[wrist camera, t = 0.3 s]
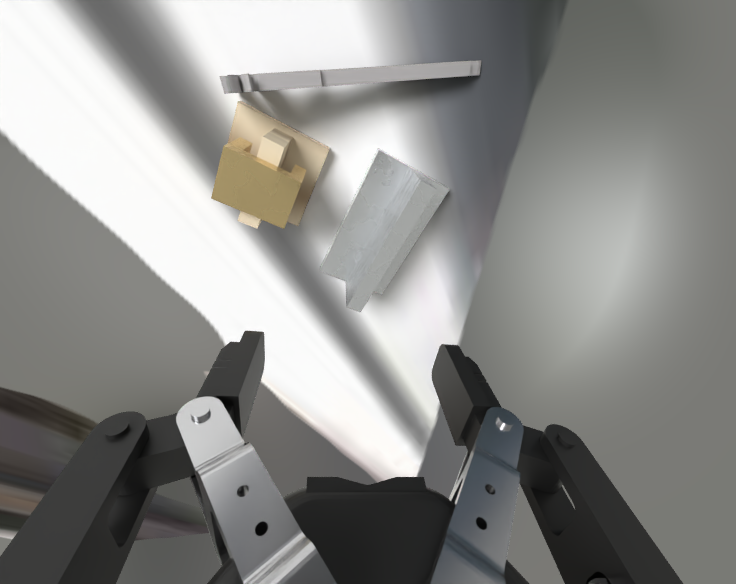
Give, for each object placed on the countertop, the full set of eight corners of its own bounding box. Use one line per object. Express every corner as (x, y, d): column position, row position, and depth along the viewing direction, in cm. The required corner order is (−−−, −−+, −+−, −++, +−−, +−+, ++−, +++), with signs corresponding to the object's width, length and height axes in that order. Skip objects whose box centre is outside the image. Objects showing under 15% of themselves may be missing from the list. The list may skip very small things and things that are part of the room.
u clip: (240, 137, 24) (223, 146, 21) (306, 169, 26) (301, 183, 23) (228, 183, 26) (211, 198, 23) (290, 210, 28) (284, 228, 24)
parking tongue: (241, 100, 25) (217, 105, 20) (329, 147, 28) (327, 161, 23) (219, 188, 29) (195, 209, 24) (299, 222, 32) (291, 248, 27)
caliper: (237, 93, 25) (211, 96, 20) (233, 77, 25) (205, 76, 20) (477, 75, 26) (512, 73, 21) (479, 59, 25) (515, 53, 20)
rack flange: (377, 147, 28) (386, 161, 23) (446, 186, 31) (467, 206, 26) (320, 266, 35) (317, 296, 30) (380, 290, 37) (387, 321, 32)
